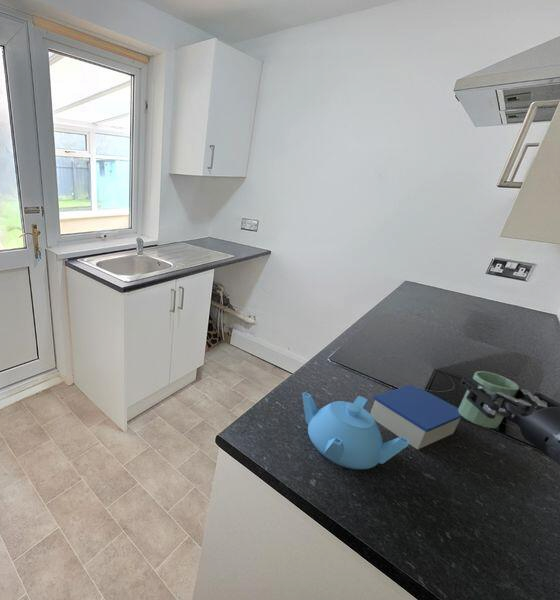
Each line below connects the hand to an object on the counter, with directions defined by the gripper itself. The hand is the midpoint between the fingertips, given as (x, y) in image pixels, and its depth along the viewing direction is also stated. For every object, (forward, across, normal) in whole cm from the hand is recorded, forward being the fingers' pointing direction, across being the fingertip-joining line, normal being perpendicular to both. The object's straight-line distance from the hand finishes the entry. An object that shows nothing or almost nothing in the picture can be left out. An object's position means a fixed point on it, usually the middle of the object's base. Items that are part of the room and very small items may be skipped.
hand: (480, 381), depth 63 cm
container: (+7, +4, +18) cm, 19 cm away
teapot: (-3, +25, +18) cm, 31 cm away
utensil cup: (-2, 0, +7) cm, 7 cm away
